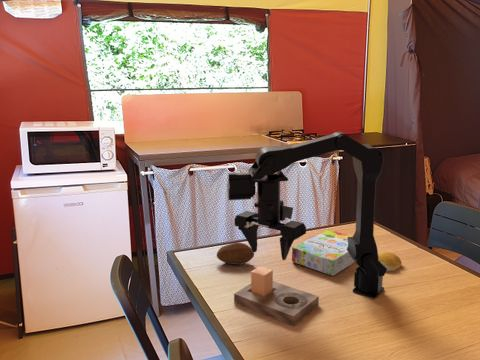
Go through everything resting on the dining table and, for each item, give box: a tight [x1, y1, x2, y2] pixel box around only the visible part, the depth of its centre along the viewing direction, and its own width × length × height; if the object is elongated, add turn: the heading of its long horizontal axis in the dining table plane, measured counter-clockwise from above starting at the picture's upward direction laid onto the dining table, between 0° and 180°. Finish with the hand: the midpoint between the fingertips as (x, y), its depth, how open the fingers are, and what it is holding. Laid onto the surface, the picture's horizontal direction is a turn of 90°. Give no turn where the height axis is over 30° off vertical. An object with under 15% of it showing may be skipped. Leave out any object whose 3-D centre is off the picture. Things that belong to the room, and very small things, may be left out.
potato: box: [216, 241, 255, 265], centre depth 139 cm, size 7×12×7 cm, turn 95°
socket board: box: [233, 280, 320, 327], centre depth 116 cm, size 18×12×2 cm, turn 51°
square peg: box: [250, 266, 274, 297], centre depth 118 cm, size 4×4×8 cm
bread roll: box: [378, 251, 402, 272], centre depth 137 cm, size 8×9×4 cm
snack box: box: [291, 229, 356, 277], centre depth 142 cm, size 21×6×15 cm
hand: (269, 255), depth 117 cm, fingers open, 9 cm apart
